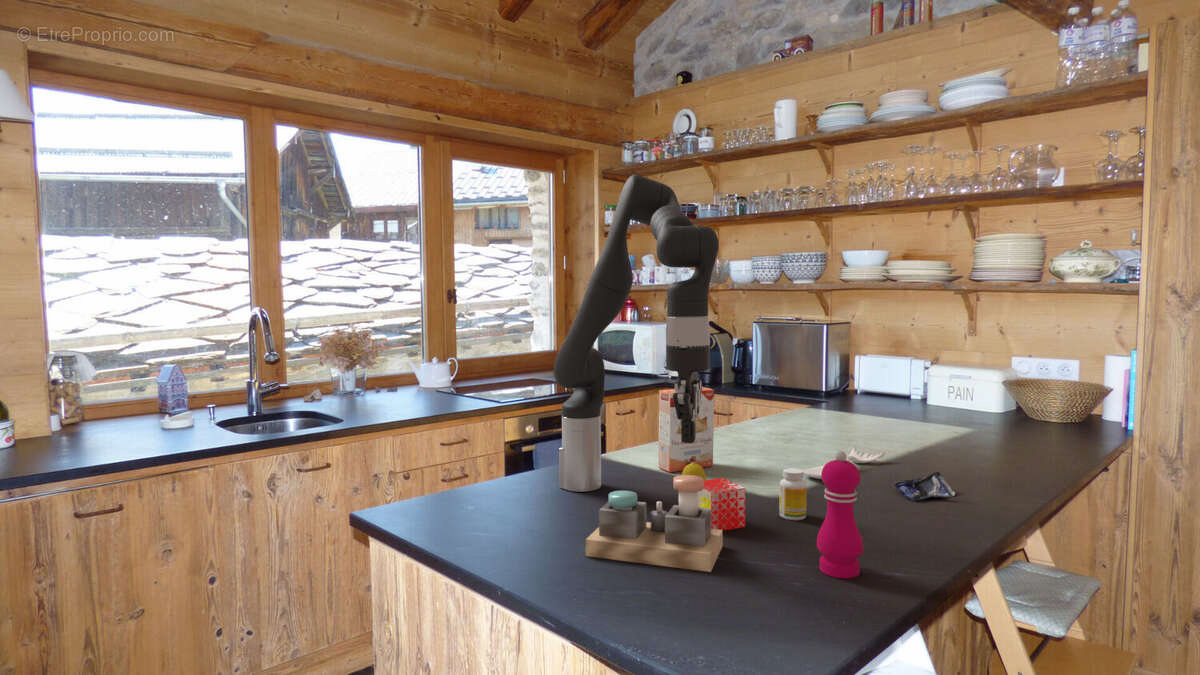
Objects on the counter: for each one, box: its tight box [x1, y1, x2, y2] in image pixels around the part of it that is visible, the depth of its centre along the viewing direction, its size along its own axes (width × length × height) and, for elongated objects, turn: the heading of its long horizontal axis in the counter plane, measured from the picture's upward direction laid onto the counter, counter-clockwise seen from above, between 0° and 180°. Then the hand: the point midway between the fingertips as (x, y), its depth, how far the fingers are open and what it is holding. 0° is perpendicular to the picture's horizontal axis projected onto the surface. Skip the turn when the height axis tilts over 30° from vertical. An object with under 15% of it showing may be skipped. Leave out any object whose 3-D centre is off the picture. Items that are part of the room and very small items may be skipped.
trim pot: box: [650, 500, 669, 532], centre depth 123 cm, size 3×3×5 cm
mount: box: [585, 500, 724, 573], centre depth 121 cm, size 22×12×8 cm, turn 71°
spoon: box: [802, 446, 886, 480], centre depth 175 cm, size 9×32×4 cm, turn 134°
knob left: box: [608, 490, 638, 511], centre depth 123 cm, size 5×5×7 cm
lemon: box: [681, 462, 707, 481], centre depth 153 cm, size 6×6×8 cm
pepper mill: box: [816, 450, 864, 579], centre depth 111 cm, size 7×7×20 cm
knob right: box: [672, 474, 703, 518], centre depth 118 cm, size 5×5×7 cm
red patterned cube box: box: [698, 477, 746, 531], centre depth 135 cm, size 8×8×8 cm
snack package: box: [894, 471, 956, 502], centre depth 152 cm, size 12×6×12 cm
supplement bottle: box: [778, 467, 808, 521], centre depth 139 cm, size 5×5×10 cm
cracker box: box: [658, 386, 715, 473], centre depth 178 cm, size 14×6×21 cm, turn 117°
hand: (688, 442), depth 118 cm, fingers closed
